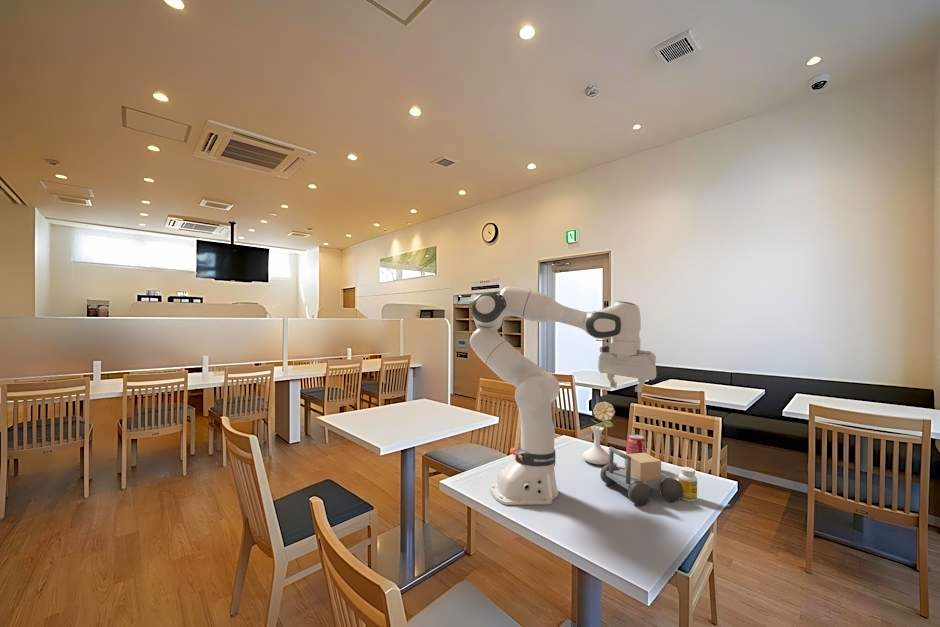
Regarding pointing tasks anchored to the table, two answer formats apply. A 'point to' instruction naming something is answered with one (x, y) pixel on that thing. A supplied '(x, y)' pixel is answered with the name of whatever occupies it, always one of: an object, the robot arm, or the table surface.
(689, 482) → the supplement bottle
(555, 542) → the table surface
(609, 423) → the flower in vase
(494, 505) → the table surface
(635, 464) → the trolley
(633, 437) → the soda can
